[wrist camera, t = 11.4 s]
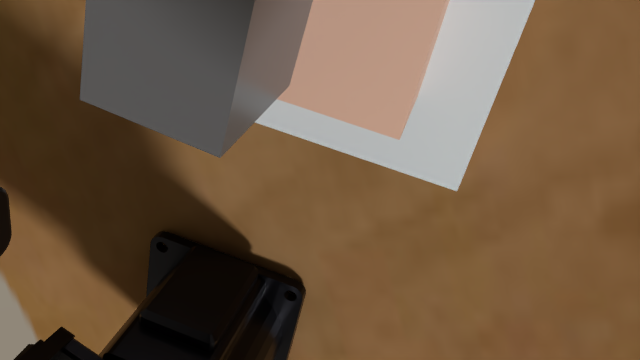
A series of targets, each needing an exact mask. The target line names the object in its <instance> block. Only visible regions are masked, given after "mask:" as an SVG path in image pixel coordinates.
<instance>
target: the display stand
mask: <svg viewBox="0 0 640 360" xmlns="http://www.w3.org/2000/svg"><path fill="white" fill-rule="evenodd" d="M534 2H535V0H313V2H312V6H311V9H310V13H309V17H308V20H307V24H306V28H305V31H304V35H303V38H302V42H301V46H300V49H299V53H298V57H297V60H296V64H295V68H294V71H293V75H292V78H291V82H290V86H289V87H288V88H287V89H286V90H285V91H284V92H283V93H282V94H281V95H280V96H279V97H278V98H277V99H276V100H275V101H274V102H273V104H272V105H271V106H270V107H269V108H268V109H267V110H266V111H265V112H264V113H263V114H262V115H261V116H260V117H259V118H258V119H257V120H256V121H255V122H256V123H259V124H261V125H264V126H267V127H270V128H273V129H276V130H279V131H282V132H285V133H288V134H291V135H294V136H297V137H300V138H302V139H305V140H308V141H311V142H314V143H317V144H320V145H323V146H326V147H329V148H332V149H335V150H338V151H341V152H343V153H346V154H349V155H352V156H355V157H358V158H361V159H364V160H367V161H370V162H373V163H376V164H379V165H382V166H384V167H387V168H390V169H393V170H396V171H399V172H402V173H405V174H408V175H411V176H414V177H417V178H420V179H423V180H425V181H428V182H431V183H434V184H437V185H440V186H443V187H446V188H449V189H452V190H455V191H457V190H458V188H459V185H460V183H461V180H462V178H463V175H464V173H465V170H466V168H467V166H468V163H469V161H470V158H471V156H472V153H473V151H474V148H475V146H476V144H477V141H478V139H479V136H480V134H481V131H482V129H483V126H484V124H485V122H486V119H487V117H488V114H489V112H490V109H491V107H492V104H493V102H494V100H495V97H496V95H497V92H498V90H499V87H500V85H501V82H502V80H503V77H504V75H505V73H506V70H507V68H508V65H509V63H510V60H511V58H512V55H513V53H514V51H515V48H516V46H517V43H518V41H519V38H520V36H521V33H522V31H523V29H524V26H525V24H526V21H527V19H528V16H529V14H530V11H531V9H532V7H533V4H534Z"/></svg>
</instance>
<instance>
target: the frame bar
mask: <svg viewBox="0 0 640 360" xmlns="http://www.w3.org/2000/svg"><path fill="white" fill-rule="evenodd" d="M312 2H313V0H86V10H85V25H84V41H83V56H82V72H81V88H80V100H82V101H84V102H87V103H89V104H91V105H94V106H96V107H99V108H101V109H103V110H106V111H108V112H111V113H113V114H115V115H118V116H120V117H123V118H125V119H128V120H130V121H132V122H135V123H137V124H140V125H142V126H144V127H147V128H149V129H152V130H154V131H156V132H159V133H161V134H164V135H166V136H169V137H171V138H173V139H176V140H178V141H181V142H183V143H185V144H188V145H190V146H193V147H195V148H197V149H200V150H202V151H205V152H207V153H209V154H212V155H214V156H217V157H219V158H221V156H222V155H223V154H224V153H225V152H226V151H227V150H228V149H229V148H230V147H231V146H232V145H233V144H234V143H235V142H236V141H237V140H238V139H239V138H240V137H241V136H242V135H243V134H244V133H245V132H246V131H247V129H248V128H249V127H250V126H251V125H252V124H253V123H254V122H255V121H256V120H257V119H258V118H259V117H260V116H261V115H262V114H263V113H264V112H265V111H266V110H267V109H268V108H269V107H270V106H271V105H272V104H273V102H274V101H275V100H276V99H277V98H278V97H279V96H280V95H281V94H282V93H283V92H284V91H285V90H286V89H287V88H288V87H289V86H290V82H291V78H292V75H293V71H294V68H295V64H296V60H297V57H298V53H299V49H300V46H301V42H302V38H303V35H304V31H305V28H306V24H307V20H308V17H309V13H310V9H311V6H312Z"/></svg>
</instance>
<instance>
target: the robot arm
mask: <svg viewBox="0 0 640 360" xmlns="http://www.w3.org/2000/svg"><path fill="white" fill-rule="evenodd" d="M10 239H11V220H10V209H9V198H8V194H7V193H6V191H5V189H3V188H2V187H0V256H1V255H2V254H3V253H4V251H5V250H6V248H7V247H8V245H9V242H10ZM162 242H163V243H165V244H166V246H167V247H166V246H165V245H163V243H162ZM289 291H292V292H294V293H295V294H296V295H293V294H291V293H290V292H289ZM305 295H306V290H305V287H304V286H303V285H302V284H301V283H300V282H299V281H297V280H294V279H292V278H289V277H286V276H284V275H281V274H278V273H276V272H273V271H270V270H268V269H265V268H262V267H260V266H257V265H254V264H252V263H249V262H246V261H244V260H241V259H238V258H236V257H233V256H230V255H228V254H225V253H222V252H220V251H217V250H214V249H212V248H209V247H206V246H204V245H201V244H198V243H196V242H193V241H190V240H188V239H185V238H182V237H180V236H177V235H175V234H172V233H169V232H165V231H162V232H159V233H158V234H157V235H156V236H155V237H154V238H153V239H152V241H151V246H150V258H149V270H148V283H147V295H146V299H145V300H144V301H143V302H142V303H141V305H140V306H139V307H138V308H137V309H136V311H135V312H134V313H133V314H132V315H131V317H130V318H129V319H128V320H127V321H126V323H125V324H124V325H123V326H122V327H121V329H120V330H119V331H118V332H117V333H116V335H115V336H114V337H113V338H112V339H111V341H110V342H109V343H108V344H107V346H106V347H105V348H104V349H103V350H102V352H101V353H100V354H99V355H97V354H96V353H94V352H93V351H91V350H90V349H88V348H87V347H86V346H84V345H83V344H81V343H80V342H78V341H77V340H75V339H74V337H75V335H73V334H72V333H70V332H69V331H67V330H66V329H65V328H63V327H60V328H59V329H58V330H57V331H56V332H55V333H53V334H52V335H51V336H50V337H49V338H48V339H47V340H46V341H42V340H39V341H38V342H37V343H36V344H29V345H28V346H26V348H25V349H24V350H23V351H22V352H21V353H20V354H19V355H18V356H17V357H16V358H15V359H14V360H288V356H289V353H290V349H291V346H292V342H293V338H294V335H295V331H296V327H297V324H298V320H299V317H300V313H301V309H302V306H303V302H304V298H305Z"/></svg>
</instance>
